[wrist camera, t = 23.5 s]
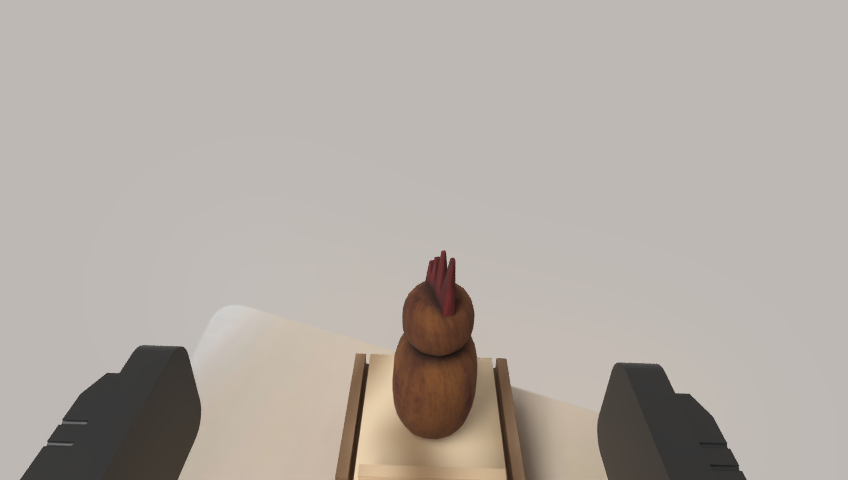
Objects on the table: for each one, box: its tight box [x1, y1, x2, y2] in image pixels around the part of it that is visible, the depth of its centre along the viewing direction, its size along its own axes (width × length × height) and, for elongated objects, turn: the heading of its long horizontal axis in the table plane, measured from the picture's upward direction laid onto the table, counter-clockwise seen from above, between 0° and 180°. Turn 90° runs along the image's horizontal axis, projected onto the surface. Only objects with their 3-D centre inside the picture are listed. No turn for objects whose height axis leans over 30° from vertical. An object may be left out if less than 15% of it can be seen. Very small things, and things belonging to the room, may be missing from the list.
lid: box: [354, 354, 507, 480], centre depth 40 cm, size 10×13×3 cm
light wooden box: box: [335, 354, 525, 480], centre depth 43 cm, size 12×13×8 cm
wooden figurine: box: [392, 250, 478, 439], centre depth 37 cm, size 7×6×15 cm
